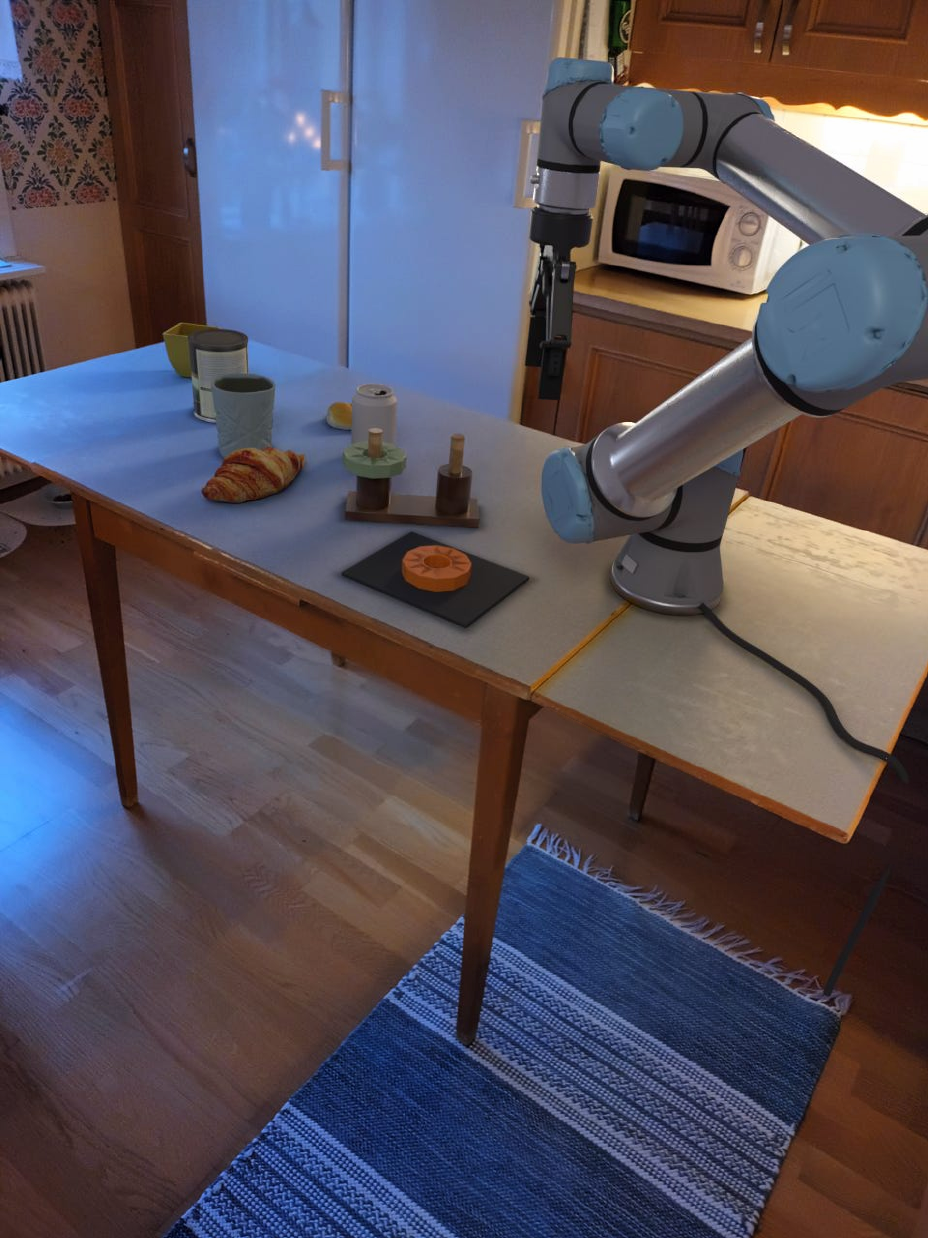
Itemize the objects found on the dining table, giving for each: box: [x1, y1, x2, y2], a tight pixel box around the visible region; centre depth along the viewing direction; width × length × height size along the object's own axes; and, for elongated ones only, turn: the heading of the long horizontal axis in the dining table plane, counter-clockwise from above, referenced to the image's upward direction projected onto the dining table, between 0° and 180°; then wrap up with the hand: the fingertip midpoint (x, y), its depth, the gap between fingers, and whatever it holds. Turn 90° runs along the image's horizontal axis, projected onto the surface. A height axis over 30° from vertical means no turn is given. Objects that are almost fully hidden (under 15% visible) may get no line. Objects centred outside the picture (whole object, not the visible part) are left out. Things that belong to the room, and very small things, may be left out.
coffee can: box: [188, 328, 250, 424], centre depth 166 cm, size 10×10×14 cm
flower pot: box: [162, 322, 222, 379], centre depth 184 cm, size 9×9×9 cm
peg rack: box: [344, 428, 480, 529], centre depth 137 cm, size 20×7×13 cm, turn 92°
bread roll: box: [325, 401, 352, 431], centre depth 170 cm, size 8×9×4 cm
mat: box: [341, 531, 530, 629], centre depth 125 cm, size 20×16×1 cm
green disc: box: [342, 442, 407, 478], centre depth 136 cm, size 9×9×2 cm
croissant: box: [201, 446, 307, 504], centre depth 143 cm, size 21×10×8 cm, turn 147°
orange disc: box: [402, 545, 471, 592], centre depth 124 cm, size 9×9×2 cm
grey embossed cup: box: [211, 373, 276, 459], centre depth 152 cm, size 10×10×12 cm
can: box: [350, 383, 398, 446], centre depth 155 cm, size 8×8×12 cm
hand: (541, 381), depth 122 cm, fingers open, 13 cm apart
